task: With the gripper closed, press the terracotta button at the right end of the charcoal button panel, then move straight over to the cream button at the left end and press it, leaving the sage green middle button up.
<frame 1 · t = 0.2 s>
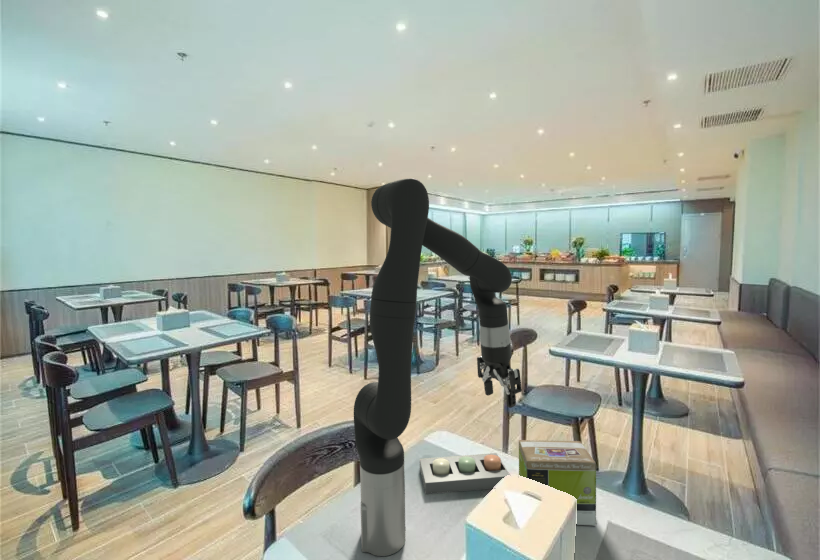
hand: (500, 400, 100), 21 cm above the table, tool pointing down, fingers open, 8 cm apart
button panel: (463, 477, 102), on the table
sage button: (466, 465, 102), point 3 cm above the table, slide at 0.0 cm
terracotta button: (492, 463, 103), point 3 cm above the table, slide at 0.0 cm
cream button: (441, 467, 101), point 3 cm above the table, slide at 0.0 cm
tea box: (554, 511, 89), on the table
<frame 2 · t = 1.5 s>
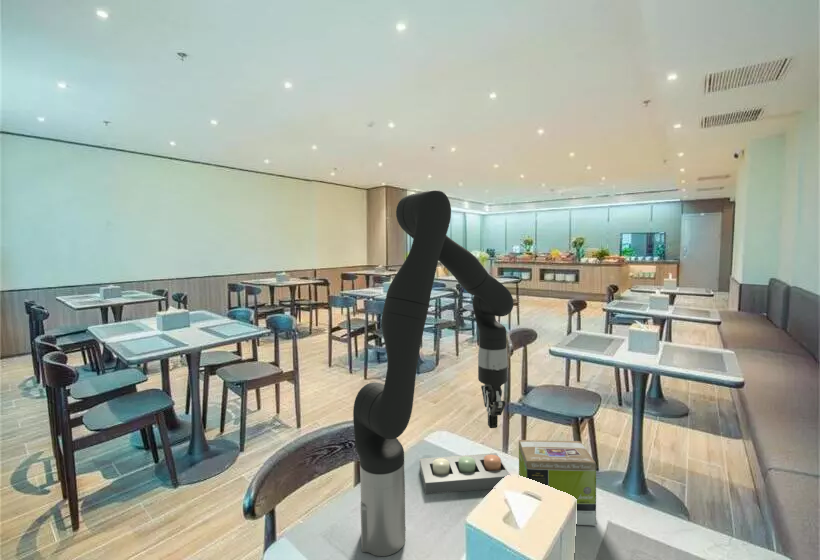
hand: (492, 426, 102), 14 cm above the table, tool pointing down, fingers closed
nothing on the table moved.
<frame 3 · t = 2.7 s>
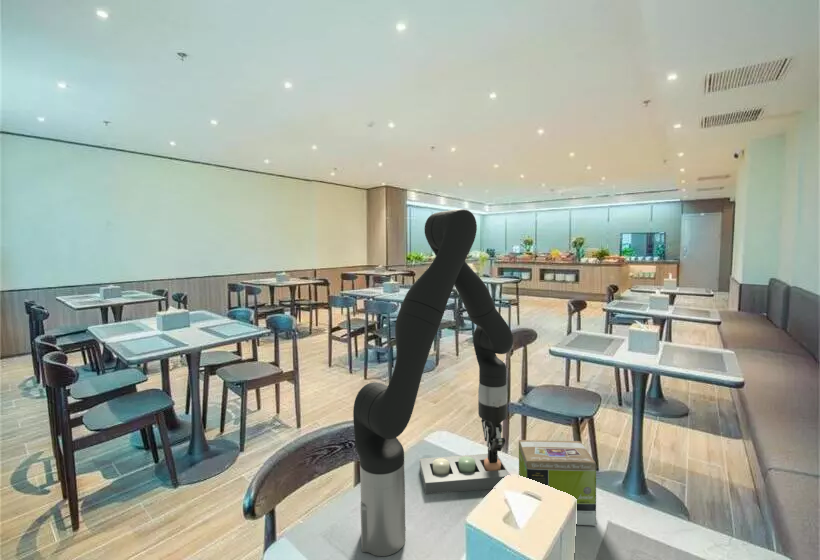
hand: (492, 461, 103), 4 cm above the table, tool pointing down, fingers closed
terracotta button: (492, 466, 103), point 3 cm above the table, slide at 0.8 cm, touching gripper
everything else where it was.
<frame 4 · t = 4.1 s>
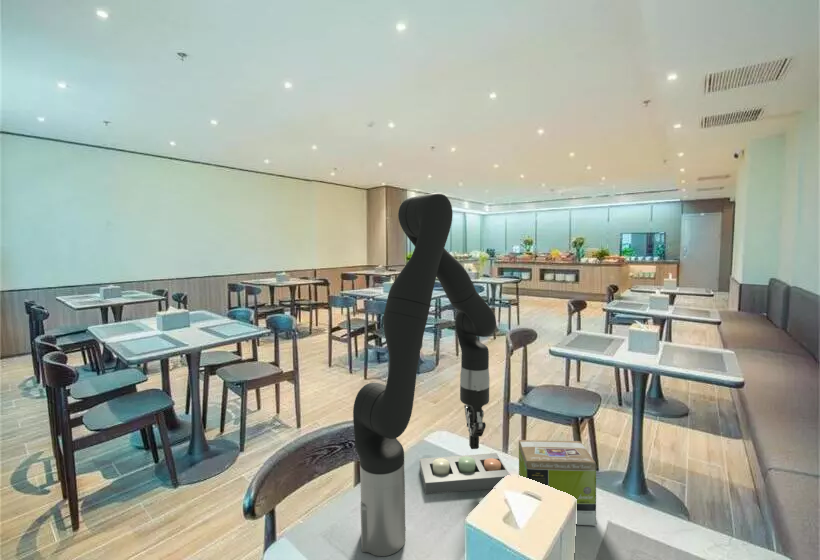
hand: (474, 447, 101), 9 cm above the table, tool pointing down, fingers closed
terracotta button: (492, 467, 103), point 2 cm above the table, slide at 1.1 cm
everything else where it was.
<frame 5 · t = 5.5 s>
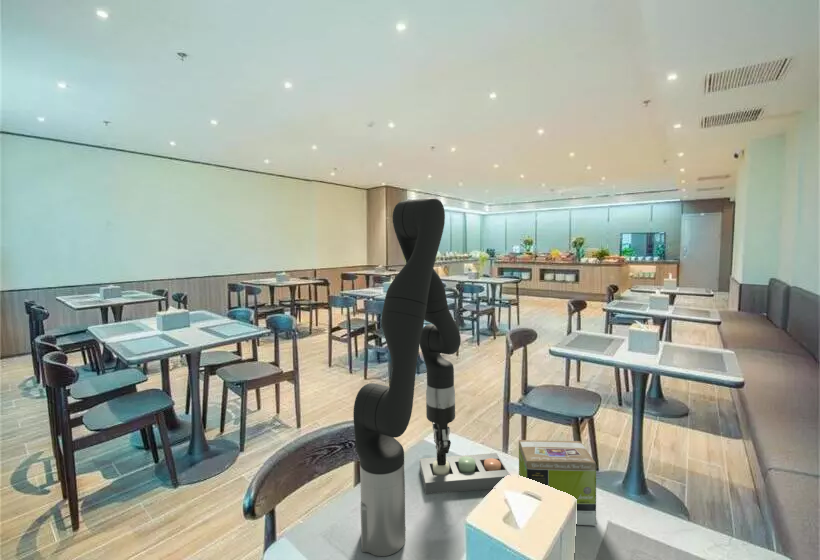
hand: (441, 463, 101), 4 cm above the table, tool pointing down, fingers closed
cream button: (441, 468, 101), point 3 cm above the table, slide at 0.4 cm, touching gripper
everything else where it was.
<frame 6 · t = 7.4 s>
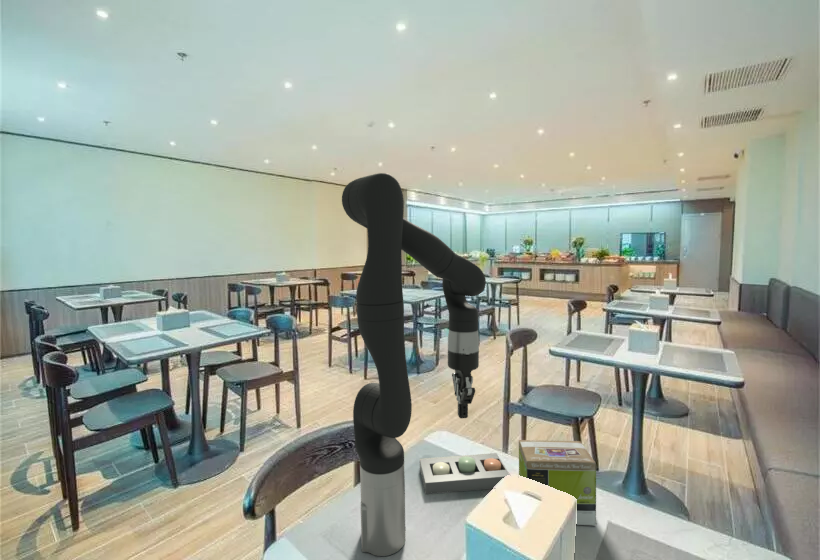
hand: (462, 417, 94), 20 cm above the table, tool pointing down, fingers closed
cream button: (441, 471, 101), point 2 cm above the table, slide at 1.1 cm
everything else where it was.
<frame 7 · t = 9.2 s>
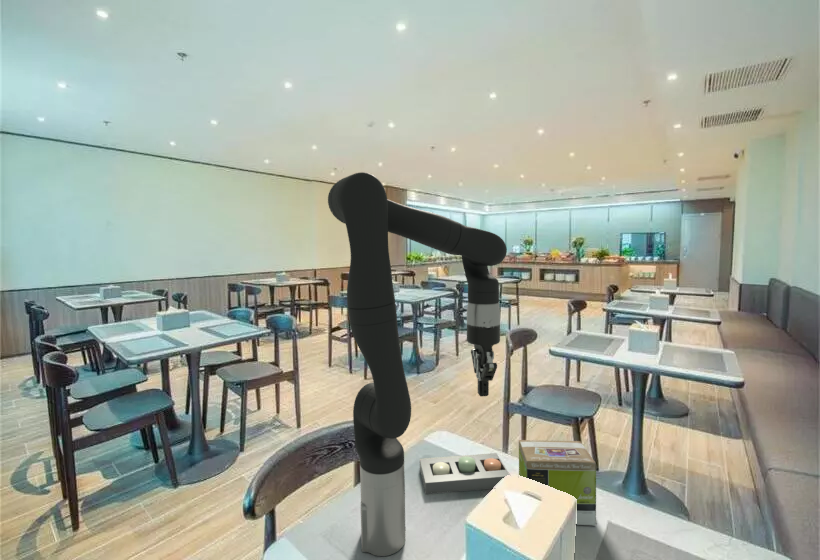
hand: (483, 395, 89), 27 cm above the table, tool pointing down, fingers closed
nothing on the table moved.
at the end: terracotta button slide at 1.1 cm; cream button slide at 1.1 cm; sage button slide at 0.0 cm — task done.
